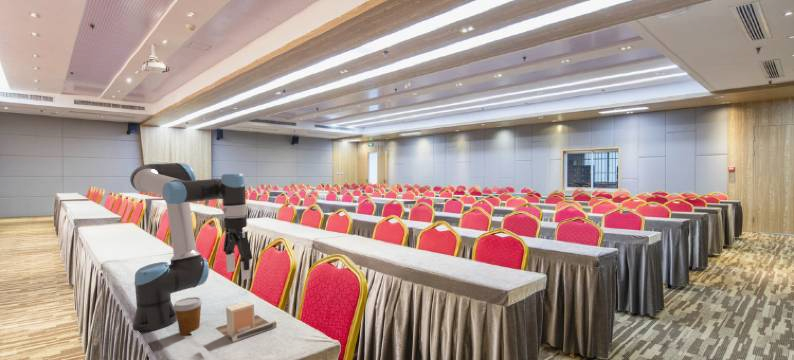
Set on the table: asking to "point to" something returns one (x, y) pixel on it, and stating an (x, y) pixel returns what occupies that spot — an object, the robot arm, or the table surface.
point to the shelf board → (260, 327)
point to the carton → (240, 318)
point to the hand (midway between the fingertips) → (238, 275)
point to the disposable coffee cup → (188, 314)
